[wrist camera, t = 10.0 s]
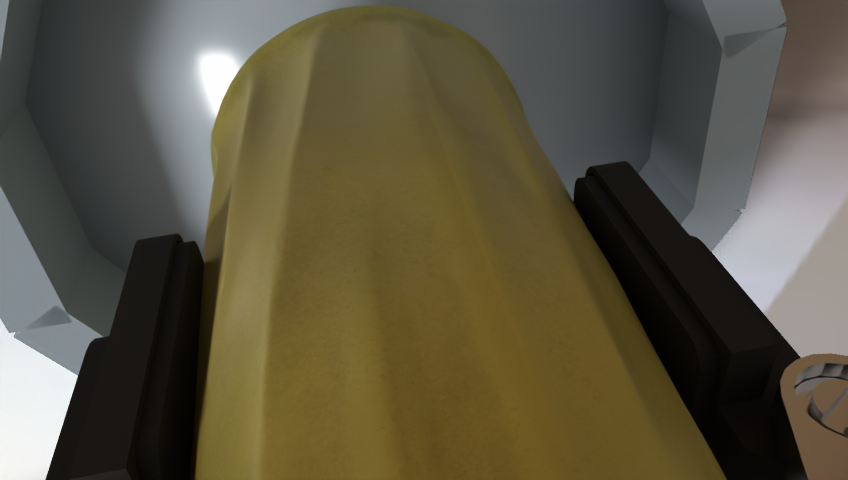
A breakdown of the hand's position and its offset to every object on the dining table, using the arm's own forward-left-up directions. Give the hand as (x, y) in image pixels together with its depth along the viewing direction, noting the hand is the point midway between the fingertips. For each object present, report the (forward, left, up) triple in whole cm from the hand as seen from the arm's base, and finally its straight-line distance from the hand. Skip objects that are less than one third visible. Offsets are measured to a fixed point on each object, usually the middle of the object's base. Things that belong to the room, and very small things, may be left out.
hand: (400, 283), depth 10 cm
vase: (0, 0, -4) cm, 4 cm away
